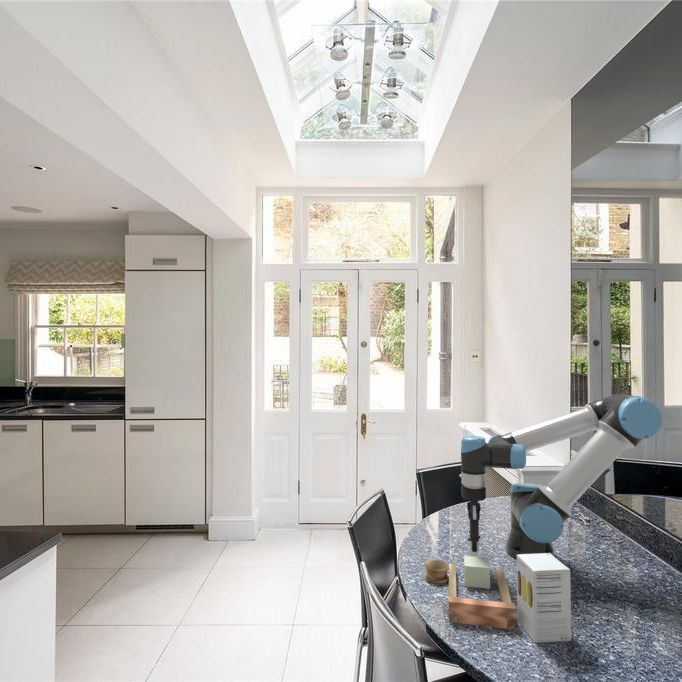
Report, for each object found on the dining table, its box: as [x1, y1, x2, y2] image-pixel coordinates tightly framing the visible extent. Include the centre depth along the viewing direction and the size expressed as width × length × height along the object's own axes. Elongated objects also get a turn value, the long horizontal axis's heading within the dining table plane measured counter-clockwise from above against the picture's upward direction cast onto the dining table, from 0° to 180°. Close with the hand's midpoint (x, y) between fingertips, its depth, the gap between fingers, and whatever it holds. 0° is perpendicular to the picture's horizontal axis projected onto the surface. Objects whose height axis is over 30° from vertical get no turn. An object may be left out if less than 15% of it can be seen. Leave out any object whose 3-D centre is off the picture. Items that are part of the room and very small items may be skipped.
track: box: [448, 563, 517, 630], centre depth 130 cm, size 16×28×5 cm, turn 167°
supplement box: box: [516, 553, 572, 644], centre depth 115 cm, size 10×9×17 cm
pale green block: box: [463, 555, 491, 590], centre depth 139 cm, size 7×7×6 cm
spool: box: [423, 558, 449, 585], centre depth 142 cm, size 7×7×4 cm
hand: (474, 560), depth 149 cm, fingers closed
